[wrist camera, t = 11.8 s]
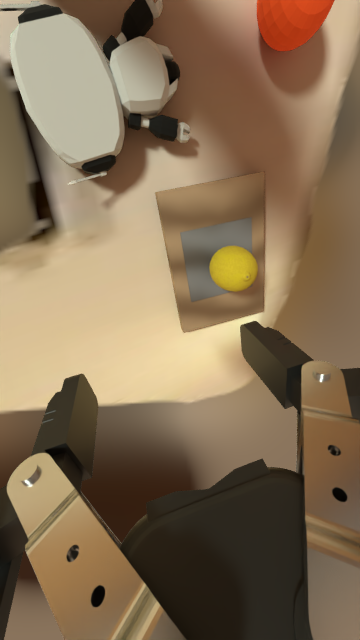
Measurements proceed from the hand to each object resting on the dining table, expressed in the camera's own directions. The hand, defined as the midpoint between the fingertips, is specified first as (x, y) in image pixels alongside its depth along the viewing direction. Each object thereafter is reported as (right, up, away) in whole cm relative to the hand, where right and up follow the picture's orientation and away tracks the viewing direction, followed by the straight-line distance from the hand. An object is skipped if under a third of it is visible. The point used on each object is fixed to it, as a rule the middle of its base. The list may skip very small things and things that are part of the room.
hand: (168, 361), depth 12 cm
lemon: (+6, +10, +21) cm, 25 cm away
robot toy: (-7, +25, +13) cm, 29 cm away
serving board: (+6, +11, +23) cm, 26 cm away
